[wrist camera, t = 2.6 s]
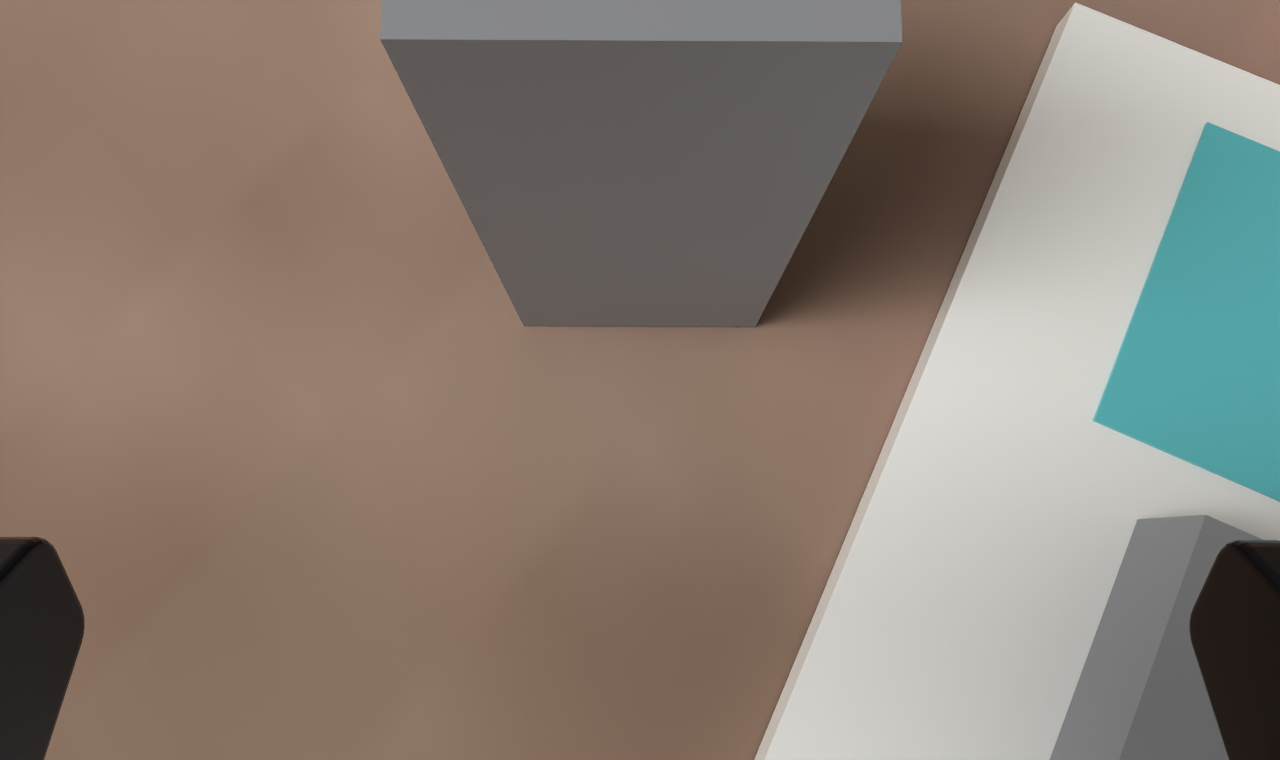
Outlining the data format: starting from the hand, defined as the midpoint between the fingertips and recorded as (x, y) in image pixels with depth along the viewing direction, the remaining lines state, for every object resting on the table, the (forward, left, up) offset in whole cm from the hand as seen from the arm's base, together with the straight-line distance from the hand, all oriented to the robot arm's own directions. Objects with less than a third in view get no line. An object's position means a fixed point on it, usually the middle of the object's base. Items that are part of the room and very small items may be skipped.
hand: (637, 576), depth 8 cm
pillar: (+6, -4, -13) cm, 15 cm away
